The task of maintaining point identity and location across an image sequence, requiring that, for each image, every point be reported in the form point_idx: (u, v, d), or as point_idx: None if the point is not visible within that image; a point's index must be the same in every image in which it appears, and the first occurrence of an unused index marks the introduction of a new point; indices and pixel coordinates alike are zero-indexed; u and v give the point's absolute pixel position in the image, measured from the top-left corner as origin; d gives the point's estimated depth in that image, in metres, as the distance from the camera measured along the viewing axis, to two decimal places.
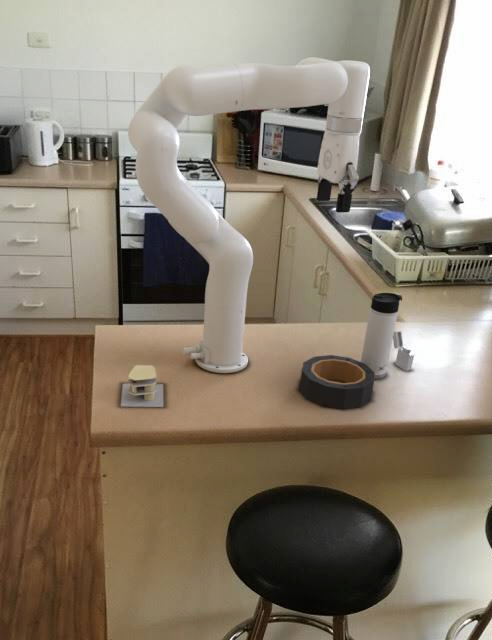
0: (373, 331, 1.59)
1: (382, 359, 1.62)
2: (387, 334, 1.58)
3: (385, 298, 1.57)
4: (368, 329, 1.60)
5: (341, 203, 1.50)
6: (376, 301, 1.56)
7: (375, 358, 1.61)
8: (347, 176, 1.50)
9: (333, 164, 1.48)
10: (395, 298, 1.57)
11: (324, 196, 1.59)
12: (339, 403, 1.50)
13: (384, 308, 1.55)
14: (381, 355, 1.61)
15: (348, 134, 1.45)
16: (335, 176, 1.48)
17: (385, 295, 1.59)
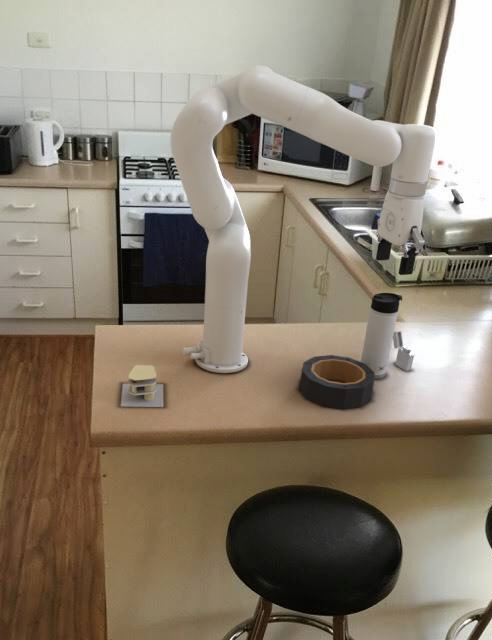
0: (373, 331, 1.59)
1: (382, 359, 1.62)
2: (387, 334, 1.58)
3: (385, 298, 1.57)
4: (368, 329, 1.60)
5: (404, 266, 1.48)
6: (376, 301, 1.56)
7: (375, 358, 1.61)
8: (410, 238, 1.48)
9: (397, 227, 1.46)
10: (395, 298, 1.57)
11: (384, 255, 1.57)
12: (339, 403, 1.50)
13: (384, 308, 1.55)
14: (381, 355, 1.61)
15: (413, 198, 1.43)
16: (399, 240, 1.46)
17: (385, 295, 1.59)
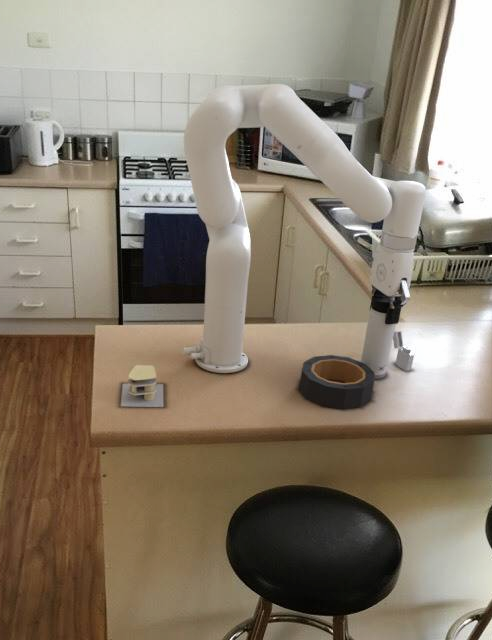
0: (373, 331, 1.59)
1: (382, 359, 1.61)
2: (387, 334, 1.58)
3: (385, 298, 1.57)
4: (368, 329, 1.60)
5: (390, 316, 1.55)
6: (376, 301, 1.56)
7: (375, 358, 1.61)
8: None
9: (387, 278, 1.51)
10: (395, 298, 1.57)
11: None
12: (339, 403, 1.50)
13: (384, 308, 1.55)
14: (381, 355, 1.61)
15: (403, 251, 1.48)
16: (389, 290, 1.51)
17: (385, 295, 1.59)
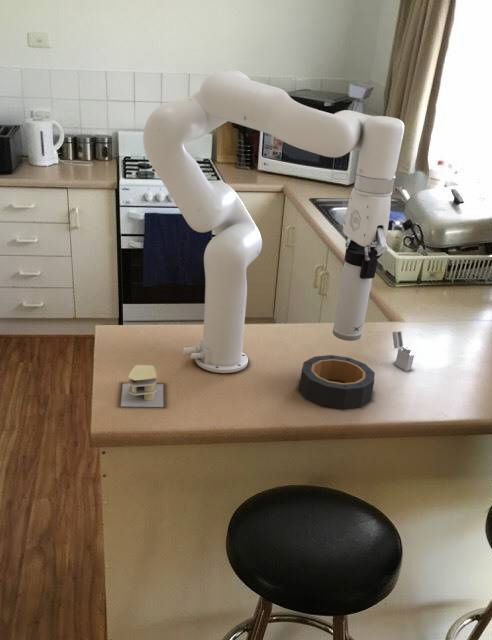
0: (347, 287, 1.44)
1: (357, 318, 1.47)
2: (363, 290, 1.44)
3: (360, 250, 1.43)
4: (342, 285, 1.46)
5: (366, 269, 1.41)
6: (350, 253, 1.41)
7: (349, 318, 1.47)
8: None
9: (362, 226, 1.37)
10: (371, 250, 1.43)
11: None
12: (339, 403, 1.50)
13: (359, 261, 1.41)
14: (356, 314, 1.47)
15: (379, 195, 1.34)
16: (364, 239, 1.37)
17: (361, 247, 1.44)
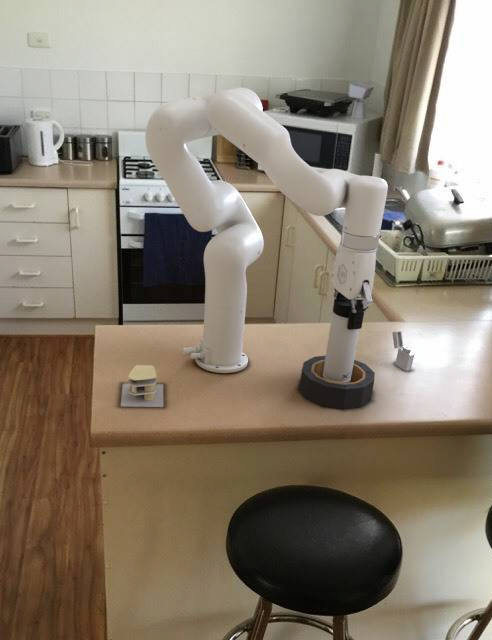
0: (335, 337, 1.49)
1: (345, 366, 1.52)
2: (350, 340, 1.48)
3: (348, 302, 1.47)
4: (330, 334, 1.50)
5: (353, 321, 1.45)
6: (338, 305, 1.46)
7: (338, 366, 1.51)
8: (361, 292, 1.44)
9: (348, 281, 1.41)
10: (359, 301, 1.47)
11: None
12: (339, 403, 1.50)
13: (346, 313, 1.45)
14: (344, 362, 1.51)
15: (364, 252, 1.38)
16: (350, 293, 1.41)
17: None
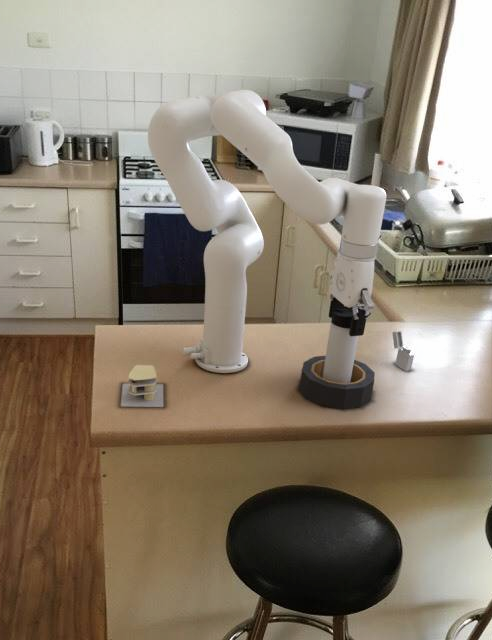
0: (334, 347, 1.50)
1: (343, 376, 1.53)
2: (349, 350, 1.50)
3: (346, 312, 1.49)
4: (329, 344, 1.51)
5: (355, 327, 1.44)
6: (336, 315, 1.47)
7: (336, 375, 1.53)
8: (361, 300, 1.44)
9: (347, 289, 1.42)
10: None
11: None
12: (339, 403, 1.50)
13: (344, 323, 1.47)
14: (342, 372, 1.52)
15: (363, 260, 1.39)
16: (349, 301, 1.42)
17: (346, 309, 1.50)
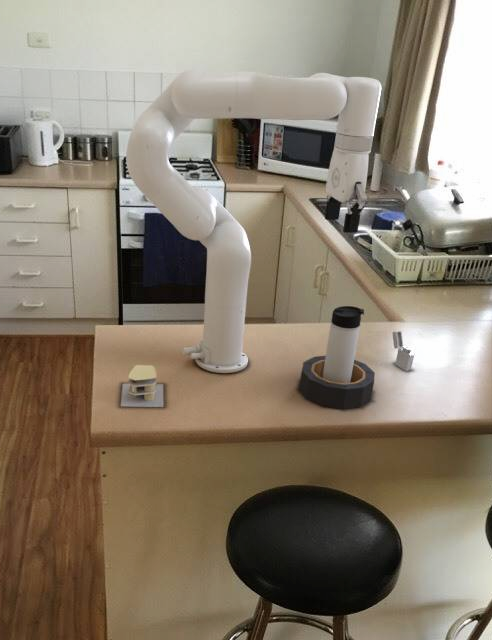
0: (334, 347, 1.50)
1: (343, 376, 1.53)
2: (349, 350, 1.50)
3: (346, 312, 1.49)
4: (329, 344, 1.51)
5: (349, 223, 1.46)
6: (336, 315, 1.47)
7: (336, 375, 1.53)
8: (355, 195, 1.45)
9: (341, 183, 1.44)
10: (357, 312, 1.49)
11: (332, 215, 1.55)
12: (339, 403, 1.50)
13: (344, 323, 1.47)
14: (342, 372, 1.52)
15: (357, 153, 1.40)
16: (343, 195, 1.43)
17: (346, 309, 1.50)
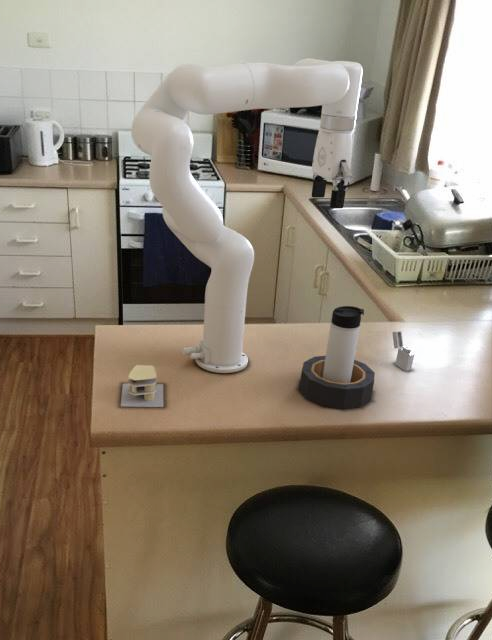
0: (334, 347, 1.50)
1: (343, 376, 1.53)
2: (349, 350, 1.50)
3: (346, 312, 1.49)
4: (329, 344, 1.51)
5: (335, 199, 1.55)
6: (336, 315, 1.47)
7: (336, 375, 1.53)
8: (341, 173, 1.55)
9: (327, 161, 1.53)
10: (357, 312, 1.49)
11: (319, 193, 1.64)
12: (339, 403, 1.50)
13: (344, 323, 1.47)
14: (342, 372, 1.52)
15: (341, 132, 1.50)
16: (329, 173, 1.53)
17: (346, 309, 1.50)
